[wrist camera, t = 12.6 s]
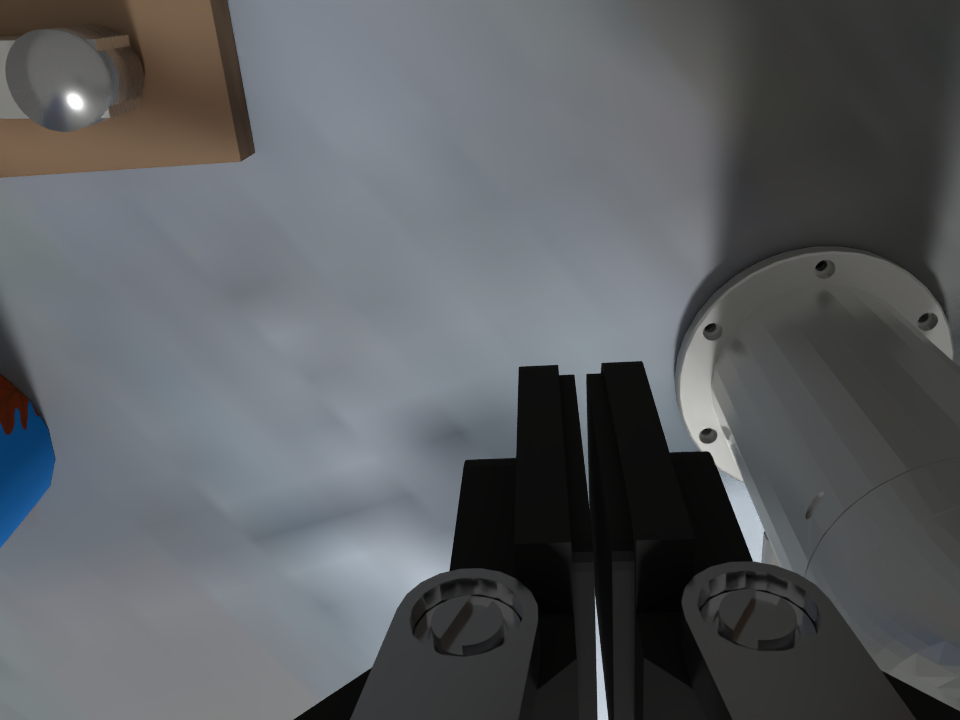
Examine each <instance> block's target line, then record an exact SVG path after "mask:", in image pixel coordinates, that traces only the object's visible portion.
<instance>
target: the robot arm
mask: <svg viewBox="0 0 960 720" xmlns="http://www.w3.org/2000/svg"><path fill="white" fill-rule="evenodd" d="M823 260H824V264H823V265H822V266H821V267H820V268H815V267H816V265H817V264H818V263H819V262H820V261H823ZM923 314H924V316H923V317H922V318H920V317H921V316H922V315H923ZM919 318H920V319H919ZM711 323H714V326H713V327H712V328H711V329H705V327H706V326H707V325H708V324H711ZM953 360H954V347H953V341H952V335H951V329H950V326H949V324H948V321H947V319H946V316H945V314H944V312H943V309H942V307H941V306H940V304H939V303H938V302H937V300H936V299H935V297H934V296H933V295H932V293H931V292H930V291H929V289H928V288H927V287H926V286H925V285H923V284H922V283H921V282H920V281H919V280H918V279H917V278H915V277H914V276H913V275H912V274H911V273H909V272H908V271H906V270H905V269H903V268H902V267H900V266H899V265H897V264H896V263H894V262H893V261H891V260H889V259H886V258H884V257H881V256H879V255H876V254H874V253H871V252H868V251H865V250H859V249H853V248H848V247H842V246H817V247H808V248H803V249H798V250H792V251H787V252H784V253H781V254H778V255H776V256H773V257H770V258H767V259H765V260H762V261H759V262H758V263H756V264H754V265H752V266H751V267H749V268H747V269H746V270H744V271H742V272H740V273H739V274H737V275H735V276H734V277H733V278H732V279H730V280H729V281H728V282H727V283H726V284H724V285H723V286H722V287H721V288H719V289H718V290H717V291H716V292H715V293H714V294H713V295H712V296H711V297H710V298H709V300H708V301H707V302H706V303H705V304H704V305H703V307H702V308H701V309H700V310H699V311H698V313H697V314H696V316H695V318H694V320H693V321H692V323H691V325H690V326H689V328H688V330H687V332H686V333H685V336H684V339H683V342H682V345H681V347H680V350H679V353H678V356H677V363H676V371H675V390H676V401H677V404H678V407H679V411H680V414H681V418H682V420H683V423H684V425H685V427H686V429H687V432H688V434H689V436H690V438H691V440H692V441H693V442H694V444H695V445H696V446H697V448H698V449H699V451H700V452H672V453H669V450H668V446H667V443H666V439H665V436H664V433H663V429H662V426H661V422H660V419H659V416H658V412H657V409H656V406H655V402H654V399H653V395H652V392H651V389H650V385H649V382H648V379H647V375H646V372H645V368H644V365H643V362H642V361H637V362H614V363H602V365H601V374H587V378H586V384H587V426H588V467H589V501H588V492H587V483H586V474H585V465H584V456H583V448H582V439H581V430H580V421H579V412H578V403H577V394H576V386H575V377H574V375H559V371H558V365H548V366H525V367H519V382H518V418H517V454H516V458H505V459H478V460H466V461H465V463H464V468H463V476H462V483H461V491H460V498H459V505H458V513H457V520H456V528H455V535H454V542H453V550H452V557H451V564H450V571H449V572H445V573H440V574H438V575H436V576H434V577H432V578H429V579H427V580H425V581H423V582H421V583H420V584H419V585H417V586H416V587H415V588H414V589H413V590H411V591H410V592H409V593H408V594H407V595H406V596H405V598H404V599H403V601H402V602H401V604H400V605H399V607H398V608H397V610H396V613H395V615H394V617H393V620H392V622H391V624H390V627H389V629H388V631H387V634H386V636H385V639H384V641H383V643H382V646H381V648H380V650H379V653H378V655H377V657H376V660H375V662H374V664H373V667H372V668H371V669H369V670H368V671H366V672H365V673H363V674H362V675H360V676H359V677H357V678H356V679H354V680H353V681H351V682H350V683H348V684H347V685H345V686H344V687H342V688H341V689H339V690H337V691H336V692H334V693H333V694H331V695H330V696H328V697H327V698H325V699H324V700H322V701H321V702H319V703H318V704H316V705H315V706H313V707H312V708H310V709H309V710H307V711H306V712H304V713H303V714H301V715H300V716H298V717H297V718H295V719H294V720H597V678H596V634H595V597H596V606H597V616H598V625H599V635H600V644H601V653H602V663H603V672H604V681H605V691H606V700H607V709H608V719H609V720H960V367H959V366H958V365H957V364H955V363H954V362H953ZM706 428H709V429H708V430H705V431H702V430H703V429H706ZM717 468H718V469H719V470H721V471H722V472H724V473H726V474H728V475H729V476H731V477H733V478H734V479H736V480H738V481H740V482H743V483H745V485H746V488H747V490H748V492H749V495H750V497H751V499H752V502H753V504H754V506H755V509H756V511H757V513H758V516H759V518H760V521H761V523H762V525H763V528H764V530H765V531H764V536H763V549H762V561H761V562H762V563H759V562H753V560H752V558H751V555H750V553H749V550H748V547H747V545H746V542H745V540H744V537H743V534H742V532H741V529H740V527H739V524H738V521H737V519H736V516H735V514H734V511H733V508H732V506H731V503H730V501H729V498H728V495H727V493H726V490H725V488H724V485H723V482H722V480H721V477H720V475H719V472H718V469H717ZM589 507H590V509H589ZM594 588H595V590H594Z"/></svg>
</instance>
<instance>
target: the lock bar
mask: <svg viewBox="0 0 960 720" xmlns="http://www.w3.org/2000/svg"><path fill="white" fill-rule="evenodd" d="M143 87H144V73H143V68H142V64H141V62H140V59H139V57H138V55H137V53H136V51H135V50H134V48H133V47H132V46H131V44H130V41H129V35H120V34H119V33H117V32H116V31H114V30H112V29H110V28H107V27H104V26H101V25H93V24H90V25H79V26H69V27H59V28H49V29H39V30H34V31H30V32H28V33H25V34H24V35H22V36H6V37H0V119H31V120H33V121H34V122H35V123H37V124H39V125H40V126H42V127H45V128H47V129H50V130H53V131H58V132H71V131H75V130H79V129H82V128H85V127H88V126H91V125H94V124H97V123H100V122H103V121H106V120H109V119H112V118H115V117H118V116H121V115H123V114H126V113H127V112H130V111H133V110H136V109H139V108H141V103H140V97H141V95H142V92H143Z"/></svg>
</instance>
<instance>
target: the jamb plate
mask: <svg viewBox="0 0 960 720" xmlns="http://www.w3.org/2000/svg"><path fill="white" fill-rule="evenodd" d="M90 24H93V25H101V26H104V27H107V28H110V29H112V30H114V31H116V32H117V33H119V34H120V35H129V41H130V44H131V46H132V47H133V48H134V50H135V51H136V53H137V55H138V57H139V59H140V62H141V64H142V68H143V73H144V87H143V92H142V95H141V97H140V103H141V108H139V109H136V110H133V111H130V112H127V113H126V114H123V115H121V116H118V117H115V118H112V119H109V120H106V121H103V122H100V123H97V124H94V125H91V126H88V127H85V128H82V129H79V130H75V131H71V132H58V131H53V130H50V129H47V128H45V127H42V126H40V125H39V124H37V123H35V122H34V121H33V120H31V119H0V178H1V177H16V176H31V175H46V174H61V173H76V172H91V171H106V170H121V169H136V168H151V167H166V166H181V165H196V164H212V163H227V162H241V161H243V160H244V159H246V158H247V157H249V156H251V155H252V154H254V153H255V150H254V144H253V139H252V133H251V128H250V123H249V117H248V112H247V106H246V101H245V95H244V90H243V85H242V79H241V74H240V68H239V63H238V57H237V52H236V47H235V41H234V36H233V30H232V25H231V19H230V14H229V9H228V3H227V0H0V37H6V36H22V35H24V34H25V33H28V32H30V31H34V30H39V29H49V28H59V27H69V26H79V25H90Z"/></svg>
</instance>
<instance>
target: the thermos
mask: <svg viewBox="0 0 960 720" xmlns="http://www.w3.org/2000/svg"><path fill="white" fill-rule="evenodd" d="M54 463H55V456H54V452H53V447H52V443H51V439H50V434H49V430H48V428H47V427H46V425H45V423H44V422H43V420H42V419H41V417H40V415H39V414H38V412H37V411H36V409H35V407H34V406H33V404H32V403H31V401H30V400H29V399H28V398H27V397H26V396H25V395H24V394H22V393H21V392H20V391H19V390H18V389H17V388H16V387H15V386H13V385H12V384H11V383H10V382H9V381H8V380H7V379H6V378H5V377H3V376H2V375H0V548H1V547H2V545H3V544H4V543H5V542H6V540H7V539H8V538H9V537H10V536H11V534H12V533H13V532H14V531H15V529H16V528H17V527H18V526H19V524H20V523H21V522H22V521H23V520H24V518H25V517H26V516H27V515H28V513H29V512H30V511H31V510H32V508H33V507H34V506H35V505H36V503H37V502H38V501H39V499H40V498H41V497H42V496H43V494H44V493H45V492H46V490H47V489H48V488H49V486H50V484H51V479H52V473H53V468H54Z"/></svg>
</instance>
